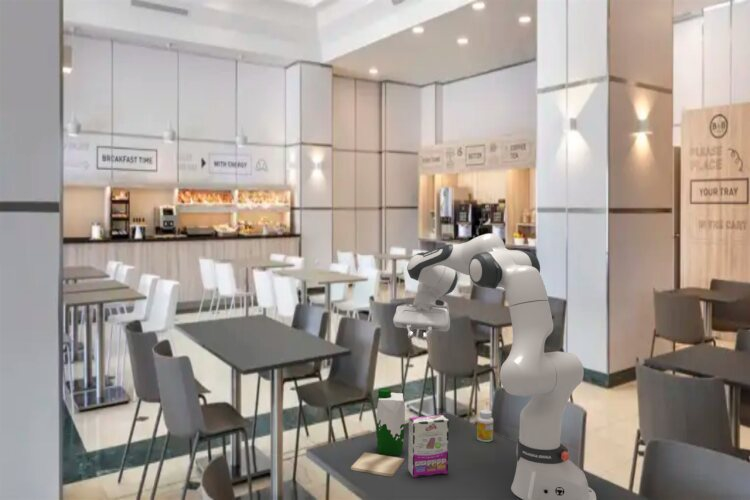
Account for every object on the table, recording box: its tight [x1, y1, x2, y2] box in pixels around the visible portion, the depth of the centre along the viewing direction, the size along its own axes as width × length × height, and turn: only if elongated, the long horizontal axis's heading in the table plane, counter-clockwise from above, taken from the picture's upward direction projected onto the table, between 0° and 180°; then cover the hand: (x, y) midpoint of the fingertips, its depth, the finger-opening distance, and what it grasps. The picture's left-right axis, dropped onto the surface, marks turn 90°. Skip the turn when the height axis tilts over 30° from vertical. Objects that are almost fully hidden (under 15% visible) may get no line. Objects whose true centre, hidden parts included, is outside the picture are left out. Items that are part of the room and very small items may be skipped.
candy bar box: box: [407, 414, 450, 478], centre depth 178 cm, size 11×5×16 cm, turn 105°
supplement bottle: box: [476, 409, 494, 443], centre depth 206 cm, size 5×5×10 cm
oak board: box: [350, 452, 405, 478], centre depth 183 cm, size 13×12×1 cm
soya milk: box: [375, 387, 406, 456], centre depth 194 cm, size 9×9×20 cm
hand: (417, 338), depth 210 cm, fingers open, 4 cm apart
